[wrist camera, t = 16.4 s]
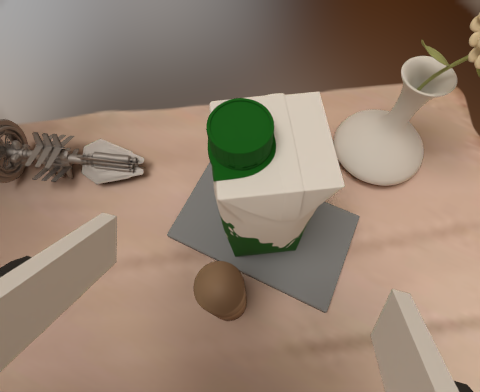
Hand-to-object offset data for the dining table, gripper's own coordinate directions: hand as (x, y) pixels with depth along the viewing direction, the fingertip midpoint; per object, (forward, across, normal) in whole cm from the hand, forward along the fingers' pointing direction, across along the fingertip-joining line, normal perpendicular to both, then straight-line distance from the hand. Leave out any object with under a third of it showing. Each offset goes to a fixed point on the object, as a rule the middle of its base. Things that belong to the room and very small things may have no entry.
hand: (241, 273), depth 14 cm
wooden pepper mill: (+14, -2, -15) cm, 21 cm away
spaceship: (+22, -34, -8) cm, 41 cm away
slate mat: (+21, 0, -8) cm, 23 cm away
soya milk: (+20, 0, -8) cm, 22 cm away
